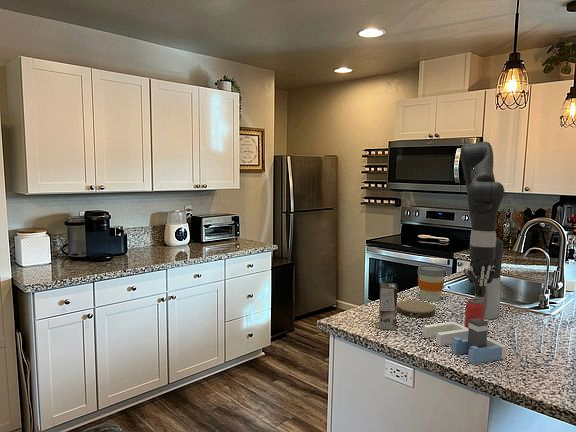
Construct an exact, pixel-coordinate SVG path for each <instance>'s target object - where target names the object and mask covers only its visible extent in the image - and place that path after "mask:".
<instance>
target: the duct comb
mask: <svg viewBox="0 0 576 432" xmlns="http://www.w3.org/2000/svg"><path fill="white" fill-rule="evenodd" d="M468 330H469V328H466V327H465V325H462V324H460V323H457V321H456V322H455V320H454V321H453V320H452V321H447V322H440V323H433V324H426V325H425V324H424V325H422V337H423V338H425V339H428V338H429V339H430V337H431V338H435V337H436V339H435V340H436V344H435V345H437V346H439V347H443V346H449V345H451V348H450V349H451V353H452V354H454V355H455V356H456V355H463V354H467V348H468ZM507 351H508V346H507V345H506V344H502V343H501V342H499V341H496V340H494V339H492V338H491V337H488V336H487V346H486V347H482V348H478V347H476V346H471V347H470V350H469V351H468V354H467V363H470V364H471V365H477V364H482V363H486V362H487V363H488V362H493V361H498V360H503V359H504V360H505V359H506V358H507Z"/></svg>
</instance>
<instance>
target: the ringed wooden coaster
mask: <svg viewBox="0 0 576 432" xmlns="http://www.w3.org/2000/svg"><path fill="white" fill-rule="evenodd" d="M396 313H398V314H400V315H401V316H405V317H406V318H407V317H408V318H412V317H414V318H413V319H428V318H433V317H434V316H435V315H436V306H435V305H433V304H431V303H429V302H427V301H426V302H425V301H421V300H412V299H411V300H410V299H409V300H407V299H406V300H401V301H397V312H396Z"/></svg>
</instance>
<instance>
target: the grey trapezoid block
mask: <svg viewBox="0 0 576 432" xmlns="http://www.w3.org/2000/svg"><path fill="white" fill-rule="evenodd" d="M468 327H469V330H468V348H467V353H466V354H467V355H468V351H469V350H470V347H471V346H476V347H478V348H482V347H486V346H487V337H488V329H489V322H488V321H487V320H486V319H484V320H482V319H480V318H474V319H469V326H468Z"/></svg>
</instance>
